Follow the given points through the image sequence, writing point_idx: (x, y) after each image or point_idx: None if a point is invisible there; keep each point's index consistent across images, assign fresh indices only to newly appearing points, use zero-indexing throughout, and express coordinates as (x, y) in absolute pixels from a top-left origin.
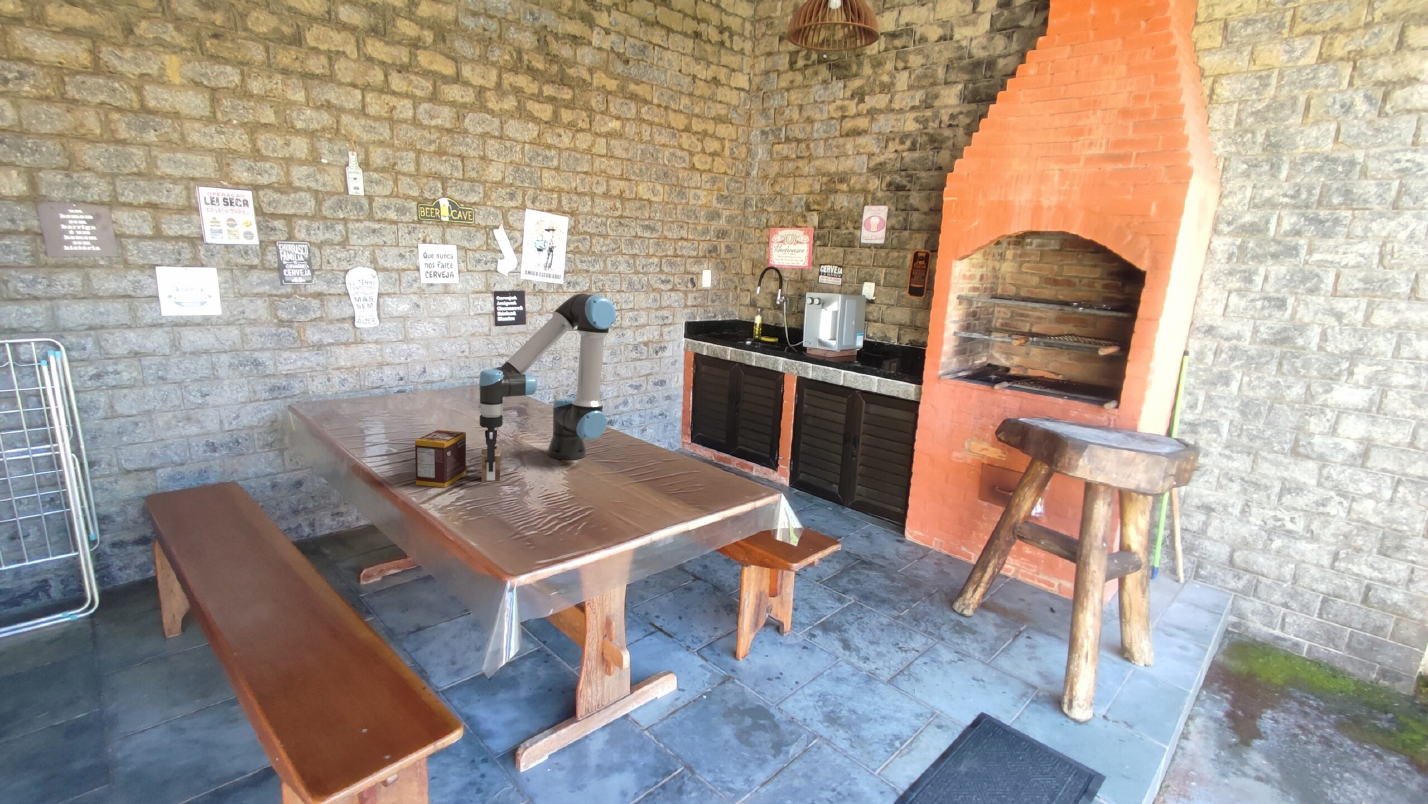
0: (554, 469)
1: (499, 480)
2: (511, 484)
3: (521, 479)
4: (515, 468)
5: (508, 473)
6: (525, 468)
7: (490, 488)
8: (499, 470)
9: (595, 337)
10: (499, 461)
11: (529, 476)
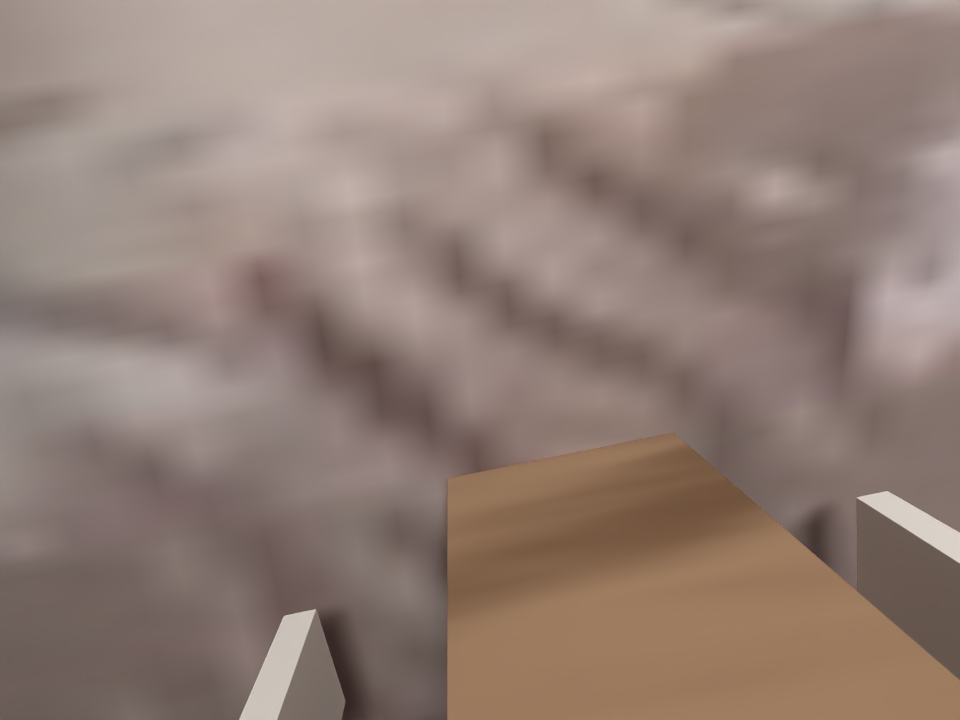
0: None
1: (678, 442)
2: (816, 260)
3: (598, 148)
4: (64, 329)
5: (334, 387)
6: (14, 165)
7: (938, 483)
8: (768, 520)
9: None
10: (924, 664)
11: (440, 31)
